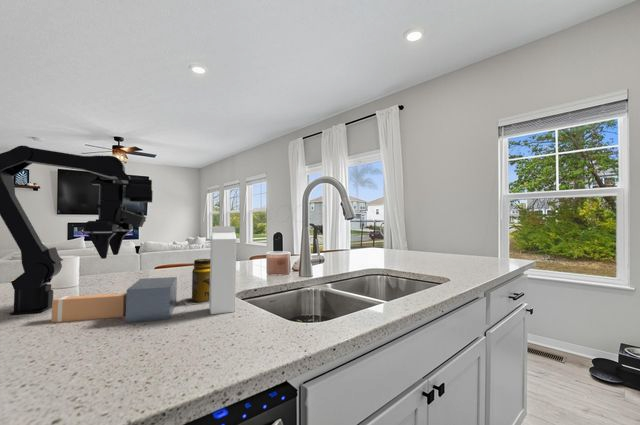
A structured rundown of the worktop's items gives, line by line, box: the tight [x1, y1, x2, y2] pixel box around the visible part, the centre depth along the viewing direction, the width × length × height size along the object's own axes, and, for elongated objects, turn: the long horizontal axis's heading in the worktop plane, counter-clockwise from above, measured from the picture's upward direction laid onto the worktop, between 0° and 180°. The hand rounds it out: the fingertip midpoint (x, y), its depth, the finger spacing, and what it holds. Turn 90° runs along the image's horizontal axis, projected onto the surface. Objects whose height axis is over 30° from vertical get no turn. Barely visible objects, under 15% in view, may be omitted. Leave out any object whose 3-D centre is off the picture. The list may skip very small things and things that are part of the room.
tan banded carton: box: [51, 292, 127, 323], centre depth 73 cm, size 14×3×5 cm, turn 110°
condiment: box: [181, 258, 210, 306], centre depth 89 cm, size 7×8×12 cm
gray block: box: [125, 276, 178, 324], centre depth 77 cm, size 10×14×8 cm
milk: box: [208, 225, 237, 315], centre depth 80 cm, size 6×6×22 cm
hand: (110, 256), depth 86 cm, fingers open, 9 cm apart
